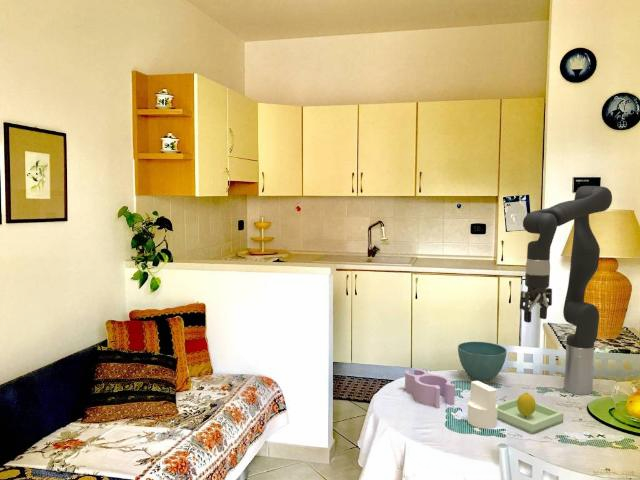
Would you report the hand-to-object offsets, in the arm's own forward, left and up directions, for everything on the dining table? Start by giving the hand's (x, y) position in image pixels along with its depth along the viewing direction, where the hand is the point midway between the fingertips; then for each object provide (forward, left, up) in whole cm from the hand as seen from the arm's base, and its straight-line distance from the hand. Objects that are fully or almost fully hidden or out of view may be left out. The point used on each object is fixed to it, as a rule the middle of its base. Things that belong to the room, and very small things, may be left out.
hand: (535, 320), depth 182 cm
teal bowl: (-8, -28, -30) cm, 42 cm away
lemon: (+10, +5, -30) cm, 32 cm away
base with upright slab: (+24, -1, -30) cm, 39 cm away
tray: (+10, +5, -30) cm, 32 cm away
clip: (+23, -26, -30) cm, 46 cm away
